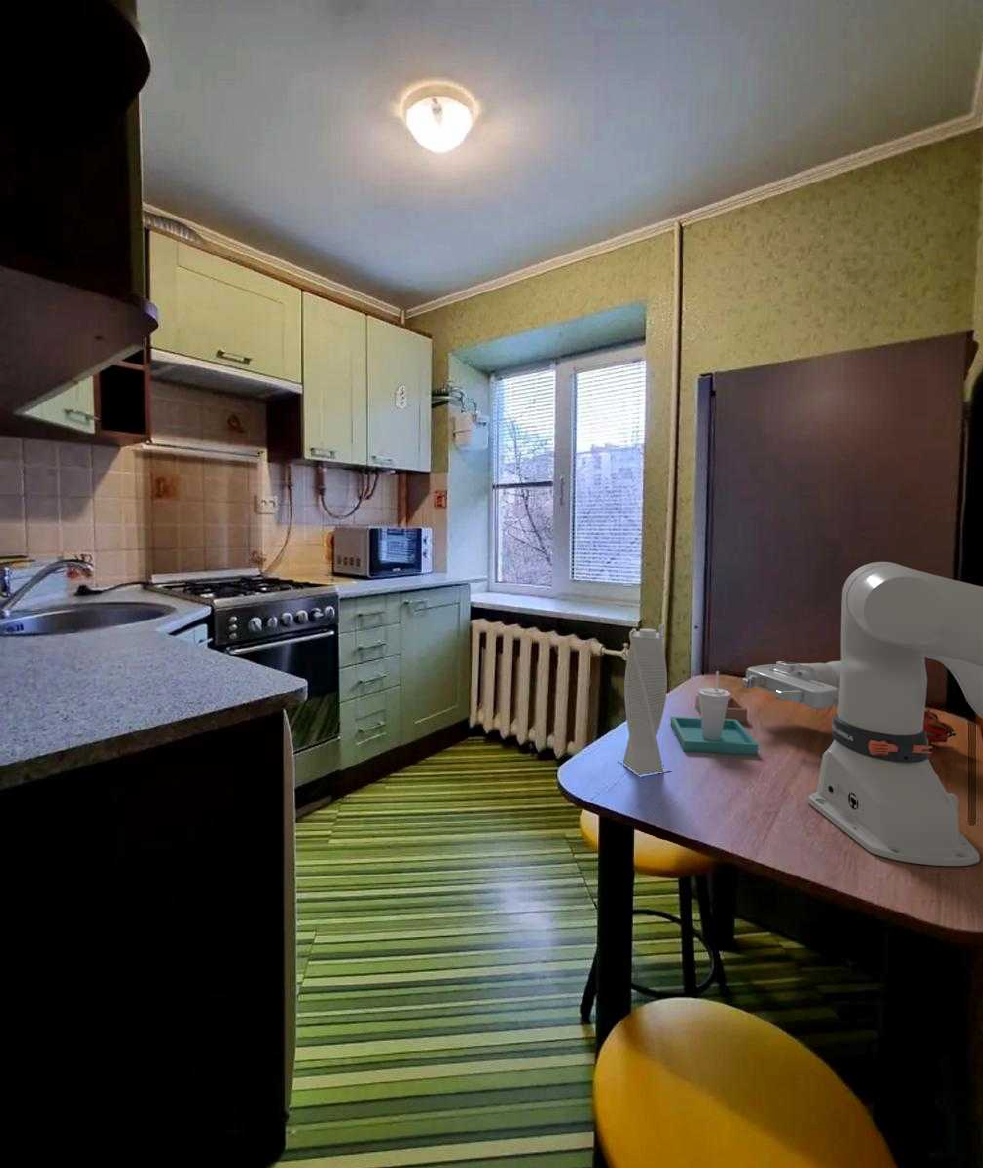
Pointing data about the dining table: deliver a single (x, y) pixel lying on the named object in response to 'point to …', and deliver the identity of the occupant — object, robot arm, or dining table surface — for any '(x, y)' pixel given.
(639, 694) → the skyscraper
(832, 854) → the dining table surface
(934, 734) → the dragon fruit
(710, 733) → the smoothie
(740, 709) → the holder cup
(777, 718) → the dining table surface
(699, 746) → the tray
